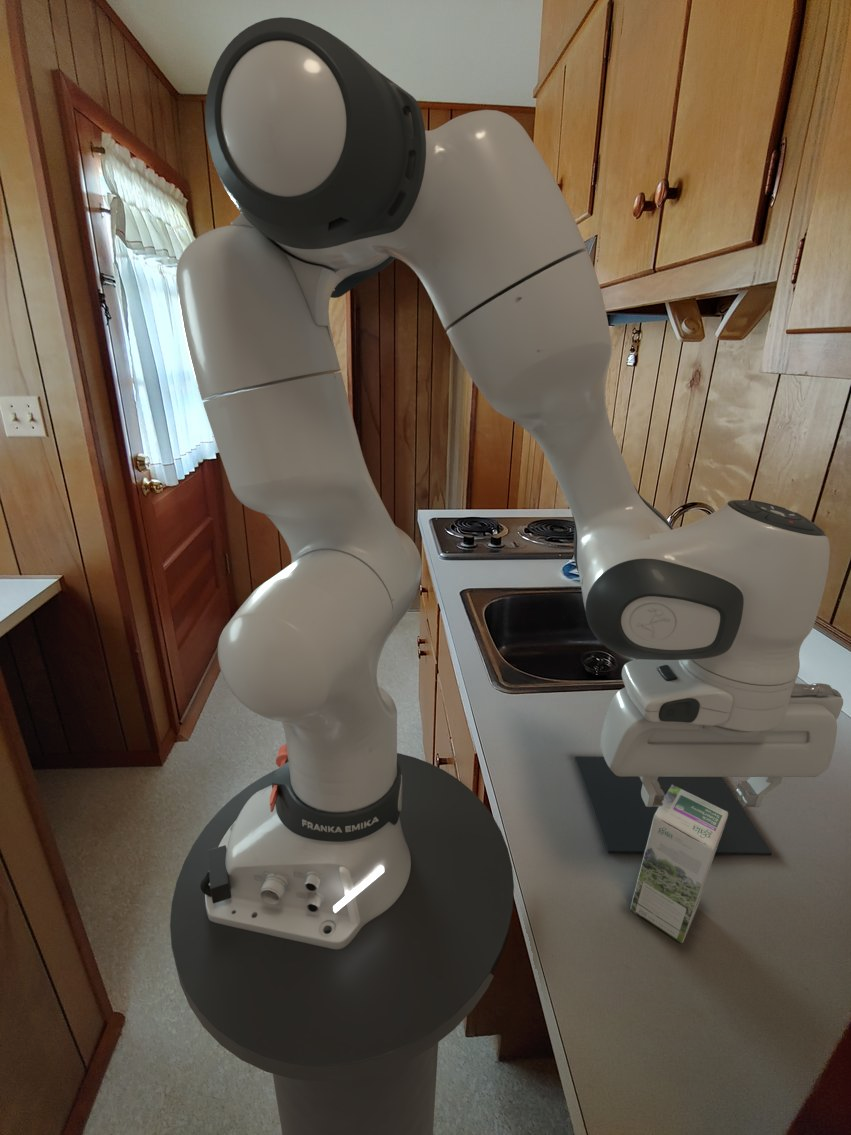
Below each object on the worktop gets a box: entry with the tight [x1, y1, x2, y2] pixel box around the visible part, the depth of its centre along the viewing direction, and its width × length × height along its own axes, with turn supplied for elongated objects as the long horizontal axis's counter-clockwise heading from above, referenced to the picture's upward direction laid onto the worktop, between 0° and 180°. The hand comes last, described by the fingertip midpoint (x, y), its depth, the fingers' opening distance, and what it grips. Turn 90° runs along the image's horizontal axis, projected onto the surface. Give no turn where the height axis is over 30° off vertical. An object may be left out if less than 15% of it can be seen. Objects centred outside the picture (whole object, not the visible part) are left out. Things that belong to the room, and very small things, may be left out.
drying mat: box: [574, 755, 773, 856], centre depth 74 cm, size 20×16×1 cm
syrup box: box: [630, 785, 728, 944], centre depth 57 cm, size 6×6×14 cm
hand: (698, 801), depth 54 cm, fingers open, 8 cm apart
